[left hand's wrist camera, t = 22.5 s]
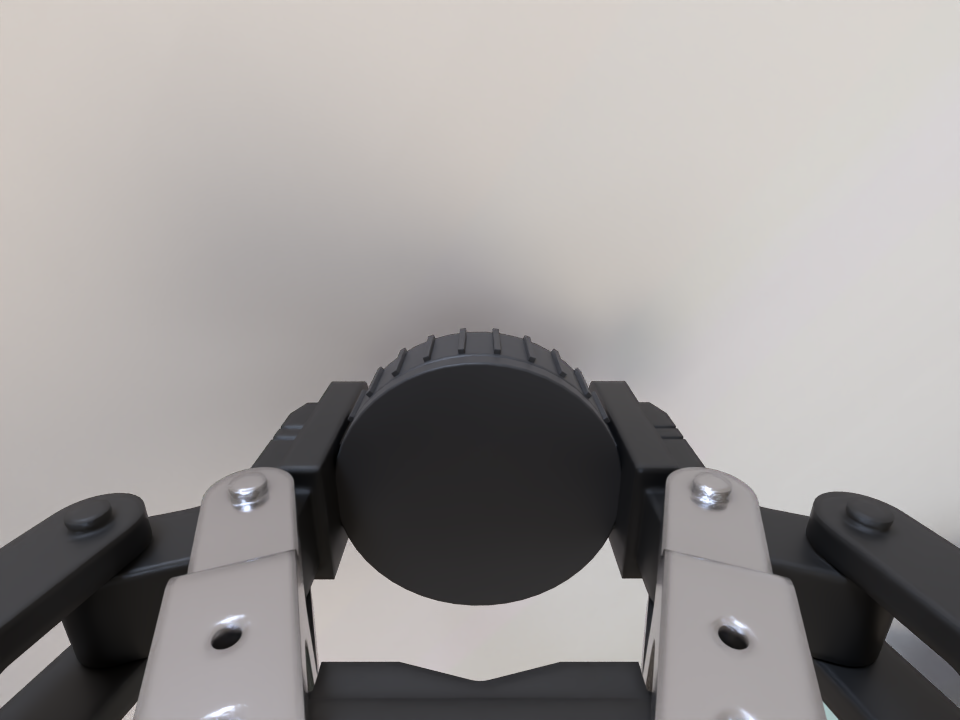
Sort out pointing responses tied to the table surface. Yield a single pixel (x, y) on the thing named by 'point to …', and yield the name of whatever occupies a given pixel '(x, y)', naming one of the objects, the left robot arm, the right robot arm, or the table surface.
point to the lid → (478, 470)
